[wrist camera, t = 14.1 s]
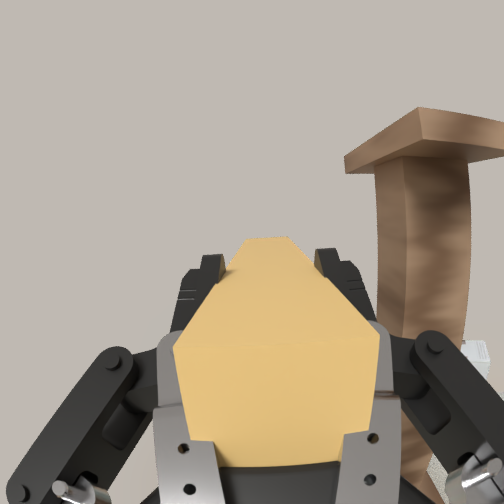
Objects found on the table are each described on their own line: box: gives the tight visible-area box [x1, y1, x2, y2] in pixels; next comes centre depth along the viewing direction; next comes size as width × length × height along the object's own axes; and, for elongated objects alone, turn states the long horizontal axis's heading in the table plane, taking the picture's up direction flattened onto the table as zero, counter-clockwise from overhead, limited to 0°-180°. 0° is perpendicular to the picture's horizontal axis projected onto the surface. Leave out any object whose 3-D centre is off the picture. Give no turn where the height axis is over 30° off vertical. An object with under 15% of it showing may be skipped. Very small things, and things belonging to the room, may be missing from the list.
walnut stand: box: [344, 107, 504, 504], centre depth 20 cm, size 10×14×32 cm
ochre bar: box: [173, 237, 380, 467], centre depth 16 cm, size 4×22×3 cm, turn 178°
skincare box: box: [461, 340, 491, 380], centre depth 28 cm, size 6×4×12 cm
